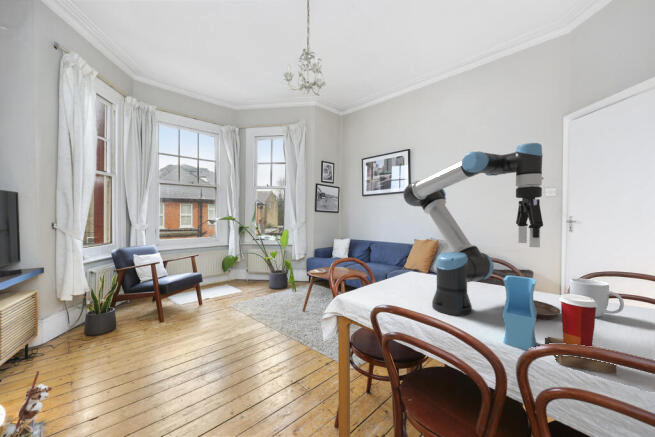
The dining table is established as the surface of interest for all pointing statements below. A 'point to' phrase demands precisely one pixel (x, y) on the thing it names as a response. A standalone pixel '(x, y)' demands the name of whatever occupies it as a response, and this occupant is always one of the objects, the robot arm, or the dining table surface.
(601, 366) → the base
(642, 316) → the dining table surface
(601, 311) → the mug
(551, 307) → the plant saucer
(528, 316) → the vase
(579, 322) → the paper cup
